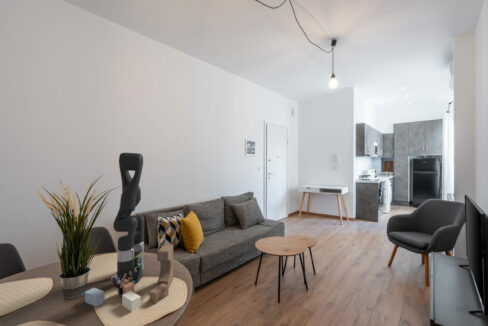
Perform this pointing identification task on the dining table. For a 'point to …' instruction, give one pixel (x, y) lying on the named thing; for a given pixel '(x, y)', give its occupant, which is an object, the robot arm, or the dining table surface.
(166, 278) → the decorative block
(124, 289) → the terracotta brick
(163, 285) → the walnut brick
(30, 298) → the dining table surface
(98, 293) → the slate brick
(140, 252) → the coffee jar
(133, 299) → the cream brick
